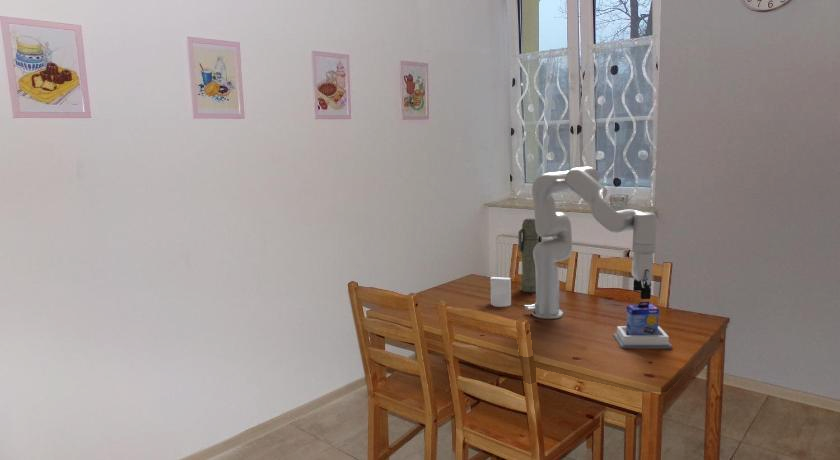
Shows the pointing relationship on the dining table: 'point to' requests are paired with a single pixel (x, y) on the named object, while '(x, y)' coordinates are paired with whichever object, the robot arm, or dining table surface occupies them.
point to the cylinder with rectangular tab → (500, 291)
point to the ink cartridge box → (642, 319)
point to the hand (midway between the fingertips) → (641, 294)
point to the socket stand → (642, 340)
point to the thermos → (528, 254)
